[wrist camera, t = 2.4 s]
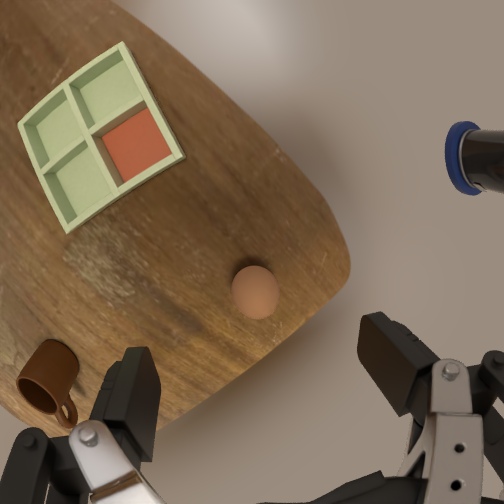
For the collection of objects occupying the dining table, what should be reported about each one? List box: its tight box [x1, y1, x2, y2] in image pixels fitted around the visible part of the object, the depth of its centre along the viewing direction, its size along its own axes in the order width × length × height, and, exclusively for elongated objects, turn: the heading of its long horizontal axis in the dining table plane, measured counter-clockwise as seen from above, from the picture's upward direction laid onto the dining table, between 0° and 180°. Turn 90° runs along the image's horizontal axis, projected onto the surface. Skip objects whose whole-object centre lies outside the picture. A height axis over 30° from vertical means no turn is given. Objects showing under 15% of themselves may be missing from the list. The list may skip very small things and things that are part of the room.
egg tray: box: [18, 41, 186, 234], centre depth 25 cm, size 15×15×4 cm
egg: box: [231, 266, 280, 319], centre depth 30 cm, size 5×5×8 cm
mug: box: [16, 340, 79, 429], centre depth 30 cm, size 12×8×9 cm, turn 16°
